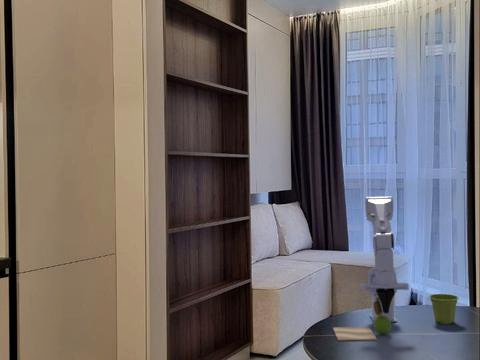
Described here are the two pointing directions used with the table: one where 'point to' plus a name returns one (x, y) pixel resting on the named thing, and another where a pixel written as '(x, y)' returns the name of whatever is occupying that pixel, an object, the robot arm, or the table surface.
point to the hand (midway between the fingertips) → (385, 312)
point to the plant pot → (444, 307)
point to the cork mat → (354, 334)
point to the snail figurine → (381, 318)
